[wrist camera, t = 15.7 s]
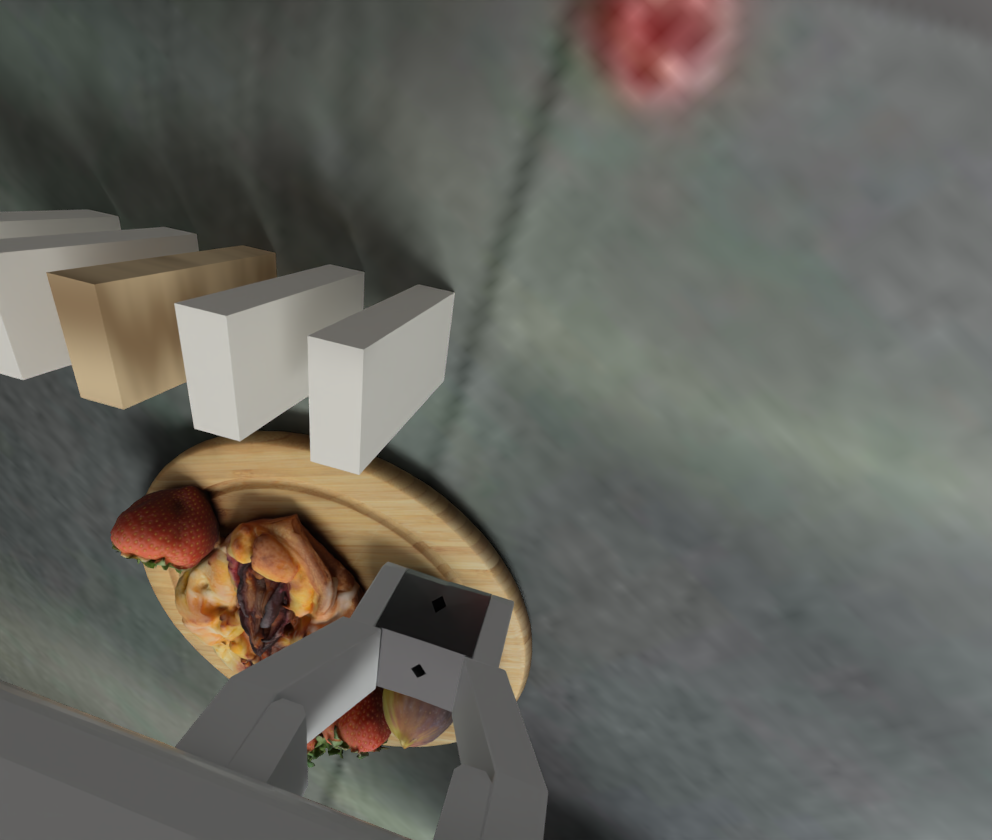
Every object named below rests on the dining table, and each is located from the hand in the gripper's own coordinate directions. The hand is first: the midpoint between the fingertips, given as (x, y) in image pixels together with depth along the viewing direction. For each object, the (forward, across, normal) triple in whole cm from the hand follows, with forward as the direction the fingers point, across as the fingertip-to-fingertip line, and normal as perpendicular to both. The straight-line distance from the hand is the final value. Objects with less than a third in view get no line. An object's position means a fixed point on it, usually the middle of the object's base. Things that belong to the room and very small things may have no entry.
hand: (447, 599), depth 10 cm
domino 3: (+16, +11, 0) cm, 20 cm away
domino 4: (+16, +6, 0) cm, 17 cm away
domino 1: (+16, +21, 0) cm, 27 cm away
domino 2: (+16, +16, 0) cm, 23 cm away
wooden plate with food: (+17, +12, +24) cm, 31 cm away
